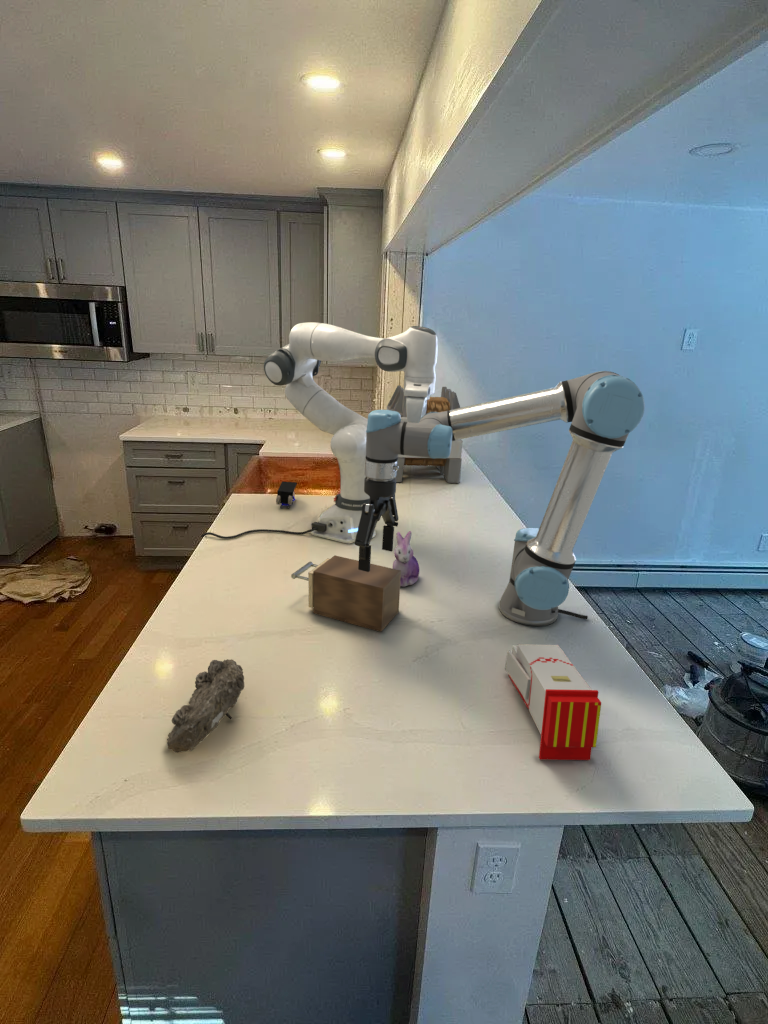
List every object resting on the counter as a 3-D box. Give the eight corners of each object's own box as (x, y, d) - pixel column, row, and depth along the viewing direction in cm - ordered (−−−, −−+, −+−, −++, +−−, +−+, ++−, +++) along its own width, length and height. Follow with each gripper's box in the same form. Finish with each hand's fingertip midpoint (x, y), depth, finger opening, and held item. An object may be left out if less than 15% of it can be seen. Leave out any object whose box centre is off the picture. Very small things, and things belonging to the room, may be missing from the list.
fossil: (192, 660, 117) (244, 628, 112) (224, 691, 120) (276, 661, 115) (142, 746, 98) (202, 712, 93) (182, 779, 101) (242, 748, 96)
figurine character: (293, 513, 218) (297, 497, 231) (292, 495, 215) (297, 480, 228) (275, 513, 218) (281, 496, 231) (274, 495, 214) (280, 479, 228)
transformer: (382, 463, 289) (386, 382, 275) (445, 464, 293) (451, 384, 279) (390, 482, 257) (394, 392, 243) (460, 483, 261) (468, 394, 247)
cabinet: (313, 613, 146) (313, 571, 142) (334, 595, 156) (334, 555, 152) (381, 632, 139) (383, 588, 135) (398, 611, 148) (401, 570, 144)
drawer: (290, 602, 149) (289, 567, 146) (309, 586, 158) (309, 554, 154) (370, 624, 140) (372, 588, 137) (386, 606, 149) (388, 572, 145)
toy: (554, 627, 126) (611, 698, 97) (548, 682, 129) (602, 767, 99) (500, 626, 125) (540, 697, 96) (495, 681, 128) (534, 767, 99)
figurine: (399, 590, 159) (401, 541, 154) (382, 575, 168) (384, 528, 163) (427, 584, 164) (431, 536, 158) (410, 570, 172) (413, 524, 167)
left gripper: (412, 381, 171) (409, 427, 176) (403, 390, 152) (400, 441, 157) (433, 383, 170) (429, 428, 175) (427, 392, 151) (423, 443, 156)
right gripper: (372, 494, 120) (368, 583, 128) (414, 467, 142) (408, 545, 149) (341, 488, 123) (338, 575, 130) (387, 463, 145) (383, 539, 152)
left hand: (415, 434), depth 166 cm, fingers open, 8 cm apart
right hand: (376, 559), depth 140 cm, fingers open, 13 cm apart
